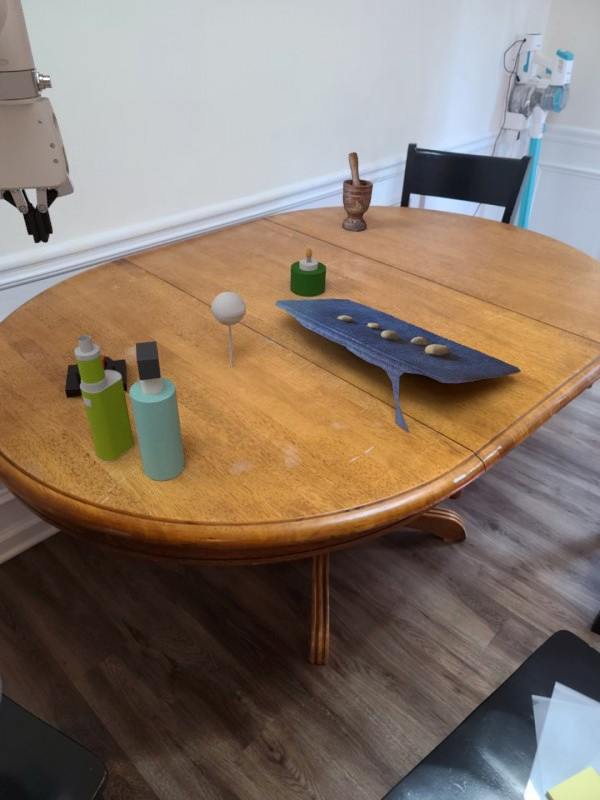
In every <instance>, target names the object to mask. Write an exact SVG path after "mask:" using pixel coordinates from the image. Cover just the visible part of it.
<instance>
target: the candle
mask: <svg viewBox="0 0 600 800" xmlns="http://www.w3.org/2000/svg"><path fill="white" fill-rule="evenodd" d="M312 256H313V250H312V249H311V248H307V249H306V251H305V258H302V259H300V260H298V261H295V262H293V263H291V264H290V279H289V280H290V282H289V283H290V285H289V288H290V292H291V293H293V294H294V295H296V296H300V297H305V298H307V297H308V298H311V297H317V296H320V295H323V294H324V293H325V292H326V279H327V266H326V265H325V264H324V263H322V262H320V261H318V260H316V259H314V258H312Z"/></svg>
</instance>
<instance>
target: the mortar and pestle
mask: <svg viewBox="0 0 600 800" xmlns="http://www.w3.org/2000/svg"><path fill="white" fill-rule="evenodd" d="M348 164H349V169H350V175H351V178H349V179H345V180H344V181H343V183H342V204H343V205H342V206H343V209H344V211H345V212H346V213H347V217H346V218H345V219H343V221H342V225H341V227H342V228H343V229H345V230H348V231H352V232H355V233H356V232H359V231H360V232H361V231H364V230H366V229H367V223H366V220H365V219H364V214H365V213H367V212H368V210H369V208H370V205H371V202H372V196H373V195H372V194H373V190H374V189H373V188H374V183H373V182H372V181H370V180H366V179H360V174H359V156H358V153H357V152H356V151H352V152H350V153H348Z"/></svg>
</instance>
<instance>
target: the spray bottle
mask: <svg viewBox="0 0 600 800" xmlns="http://www.w3.org/2000/svg"><path fill="white" fill-rule="evenodd" d="M158 351H159V350H158V344H157V340H153V341H143V342H135V352H136V353H135V354H136V366H137V371H138V378H139V380H138V381H136V382H134V383H133V384H132V385H131V387H130V388H129V392H128V393H129V398H130V403H131V408H132V409H131V410H132V414H133V420H134V425H135V431H136V435H137V443H138V447H139V453H140V458H141V463H142V464H141V465H142V471H143V473H144V475H145V476H146V477H147V478H148V479H150V480H152V481H153V480H154V481H160V482H163V481H169V480H173V479H175V478H176V477H178V476H180V475H181V474H182V473H183V471H184V470H185V467H186V461H185V453H184V445H183V436H182V429H181V420H180V411H179V404H178V397H177V396H178V395H177V387H176V384H175V383H174V381H172V380H171V379H170V378H167V377H164V376H162V370H161V369H162V368H161V366H160V357H159V352H158Z"/></svg>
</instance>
